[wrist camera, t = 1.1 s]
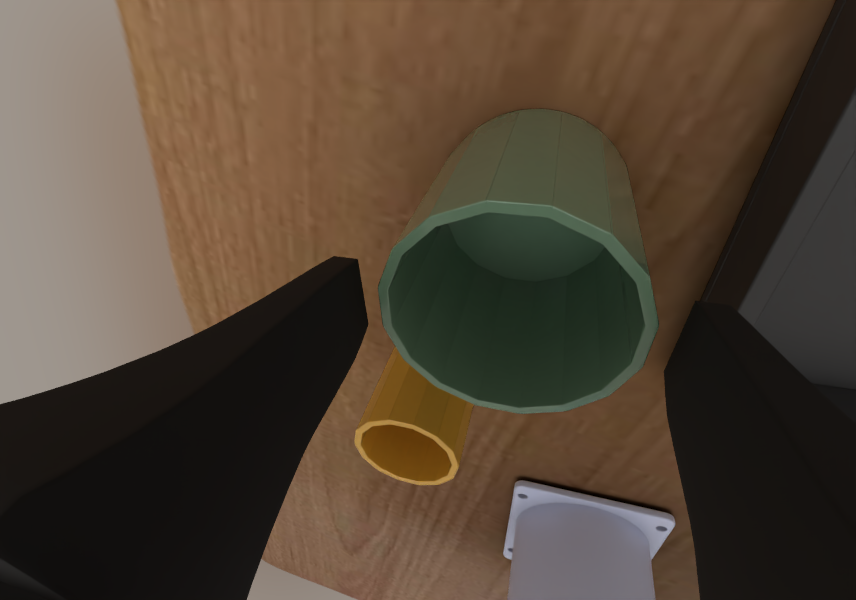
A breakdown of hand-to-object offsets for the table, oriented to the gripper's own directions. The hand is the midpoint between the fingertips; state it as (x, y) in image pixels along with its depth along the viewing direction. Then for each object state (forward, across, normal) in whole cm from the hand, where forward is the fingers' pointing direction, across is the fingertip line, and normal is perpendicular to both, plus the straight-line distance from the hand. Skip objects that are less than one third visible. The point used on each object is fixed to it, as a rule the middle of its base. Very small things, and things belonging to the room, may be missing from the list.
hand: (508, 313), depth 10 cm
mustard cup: (+6, +3, +7) cm, 10 cm away
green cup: (+6, 0, 0) cm, 6 cm away
